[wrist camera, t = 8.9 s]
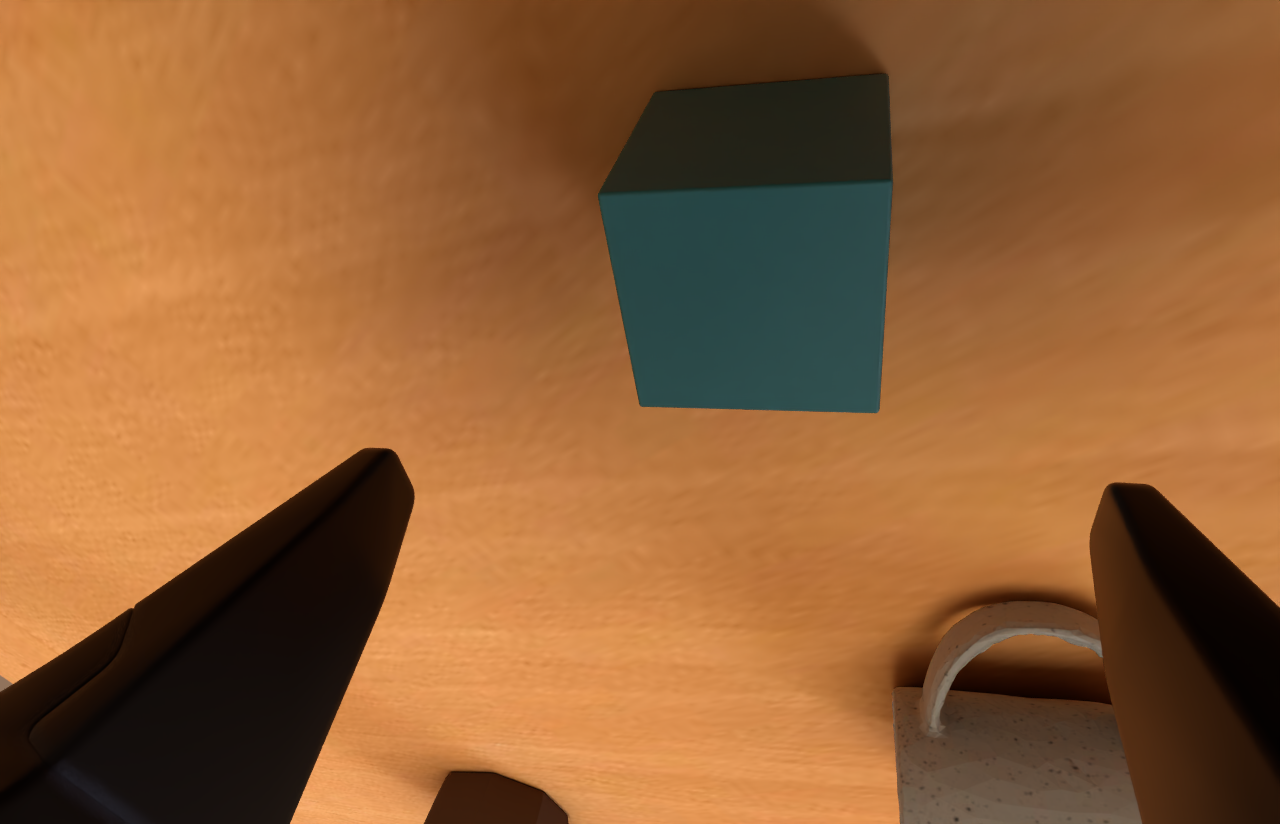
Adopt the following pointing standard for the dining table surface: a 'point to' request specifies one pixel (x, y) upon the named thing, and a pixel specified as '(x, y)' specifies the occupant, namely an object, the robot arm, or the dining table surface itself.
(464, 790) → the beer bottle
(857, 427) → the dining table surface
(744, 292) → the block
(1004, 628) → the ceramic mug
